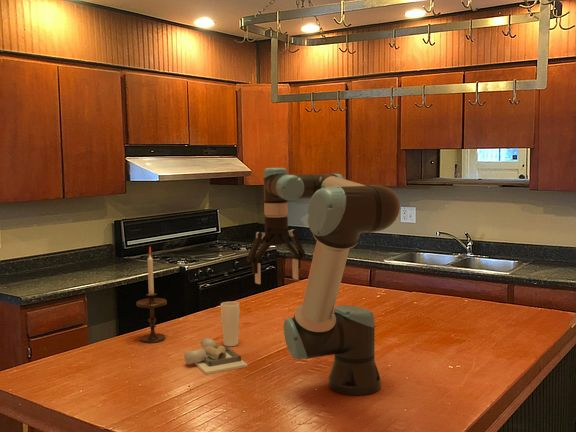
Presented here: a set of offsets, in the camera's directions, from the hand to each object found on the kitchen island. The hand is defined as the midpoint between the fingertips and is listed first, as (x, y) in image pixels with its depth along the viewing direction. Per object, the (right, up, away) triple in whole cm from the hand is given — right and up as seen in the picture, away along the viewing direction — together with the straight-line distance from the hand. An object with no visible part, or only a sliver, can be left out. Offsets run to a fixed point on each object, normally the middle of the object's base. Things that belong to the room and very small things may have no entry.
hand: (277, 281), depth 196 cm
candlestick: (-46, -25, +28) cm, 60 cm away
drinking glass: (-17, -25, +21) cm, 37 cm away
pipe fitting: (-19, -26, +4) cm, 33 cm away
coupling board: (-22, -27, +3) cm, 35 cm away
